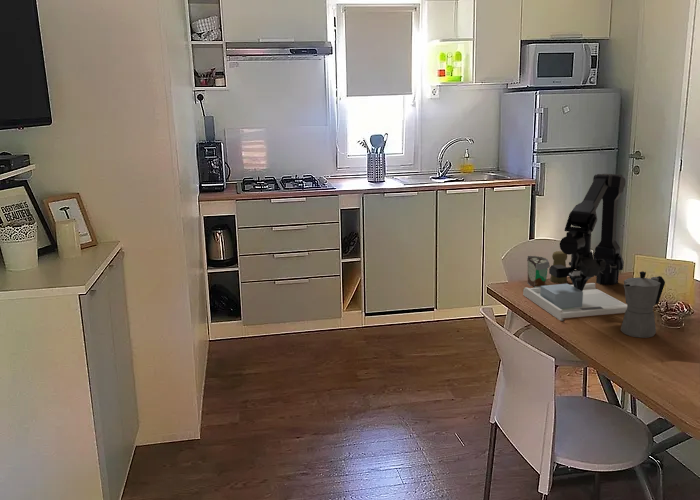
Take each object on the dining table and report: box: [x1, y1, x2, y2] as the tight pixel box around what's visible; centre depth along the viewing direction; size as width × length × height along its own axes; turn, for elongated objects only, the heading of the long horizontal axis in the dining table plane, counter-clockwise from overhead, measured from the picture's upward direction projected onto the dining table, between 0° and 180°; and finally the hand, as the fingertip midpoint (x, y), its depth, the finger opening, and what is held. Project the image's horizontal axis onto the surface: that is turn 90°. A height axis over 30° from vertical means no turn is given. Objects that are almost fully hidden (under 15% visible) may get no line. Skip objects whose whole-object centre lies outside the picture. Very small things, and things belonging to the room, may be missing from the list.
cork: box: [549, 250, 568, 284], centre depth 232 cm, size 6×6×11 cm
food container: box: [526, 255, 551, 288], centre depth 226 cm, size 12×6×10 cm, turn 179°
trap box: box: [522, 282, 627, 322], centre depth 207 cm, size 26×26×3 cm
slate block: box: [540, 283, 583, 309], centre depth 205 cm, size 10×10×5 cm
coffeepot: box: [620, 270, 666, 339], centre depth 180 cm, size 15×9×18 cm, turn 115°
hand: (578, 294), depth 207 cm, fingers closed
